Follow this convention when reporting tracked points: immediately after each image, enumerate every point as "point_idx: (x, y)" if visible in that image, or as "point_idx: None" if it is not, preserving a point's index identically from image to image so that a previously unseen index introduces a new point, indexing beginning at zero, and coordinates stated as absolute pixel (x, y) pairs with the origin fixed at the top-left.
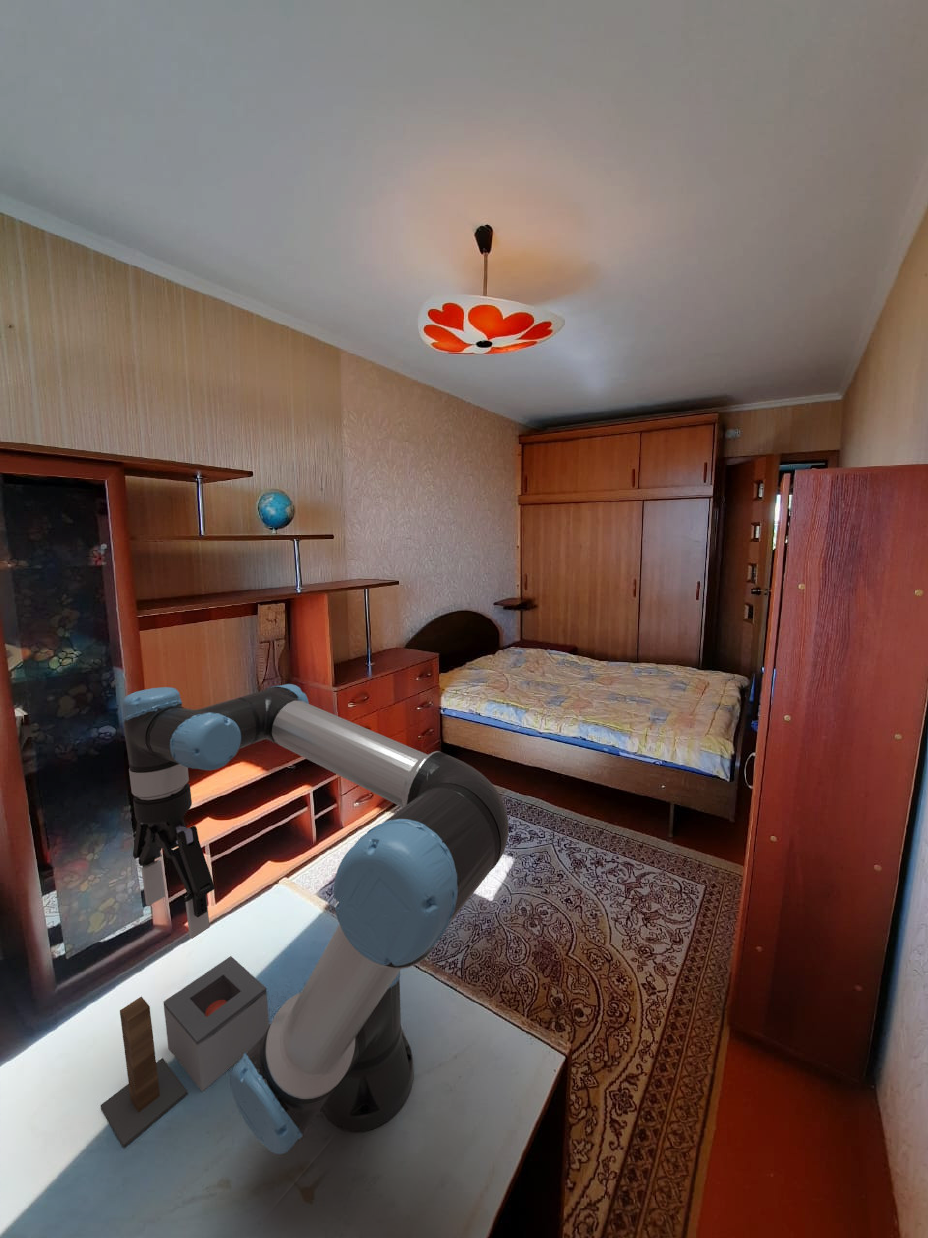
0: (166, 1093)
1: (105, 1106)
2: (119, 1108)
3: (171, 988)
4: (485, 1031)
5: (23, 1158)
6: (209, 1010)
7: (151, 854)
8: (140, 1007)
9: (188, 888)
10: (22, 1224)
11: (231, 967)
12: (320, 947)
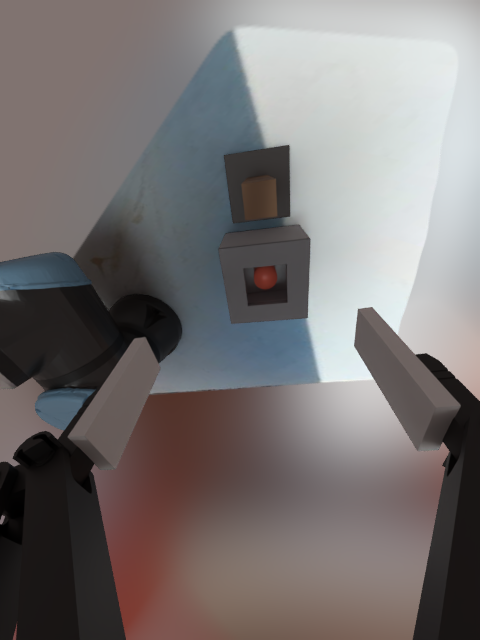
0: None
1: (282, 149)
2: (267, 162)
3: (375, 252)
4: None
5: (302, 48)
6: (269, 272)
7: (450, 504)
8: (254, 208)
9: (32, 485)
10: (222, 39)
11: (289, 312)
12: (284, 362)
